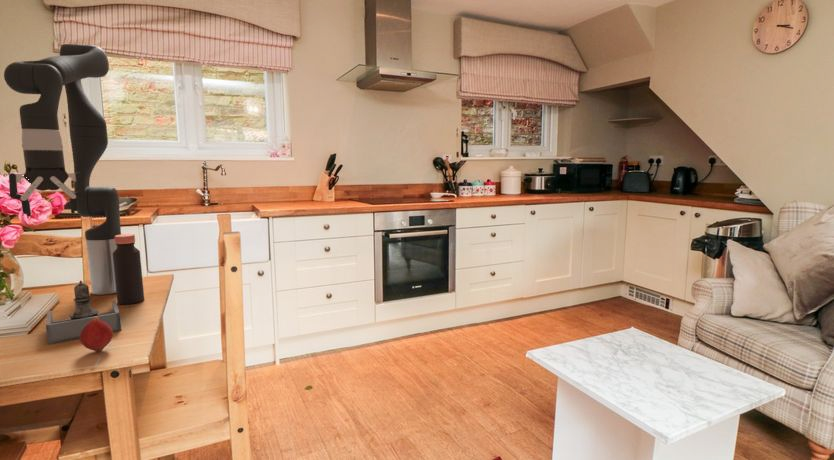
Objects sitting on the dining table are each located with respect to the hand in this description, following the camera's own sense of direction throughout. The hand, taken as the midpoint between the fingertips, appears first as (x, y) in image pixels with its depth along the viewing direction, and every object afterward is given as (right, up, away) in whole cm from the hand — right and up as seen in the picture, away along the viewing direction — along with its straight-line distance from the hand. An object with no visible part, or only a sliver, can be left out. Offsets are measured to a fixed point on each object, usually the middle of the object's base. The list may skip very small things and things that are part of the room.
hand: (51, 214), depth 111 cm
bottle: (+7, -25, +21) cm, 34 cm away
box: (+9, -29, -1) cm, 30 cm away
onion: (+21, -31, -13) cm, 40 cm away
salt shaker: (+9, -28, -1) cm, 30 cm away
